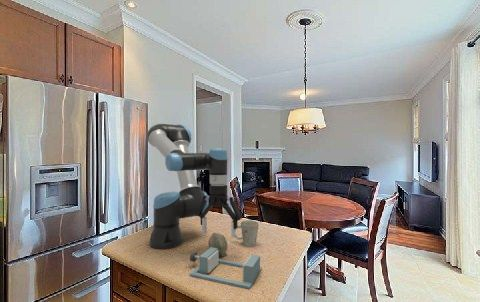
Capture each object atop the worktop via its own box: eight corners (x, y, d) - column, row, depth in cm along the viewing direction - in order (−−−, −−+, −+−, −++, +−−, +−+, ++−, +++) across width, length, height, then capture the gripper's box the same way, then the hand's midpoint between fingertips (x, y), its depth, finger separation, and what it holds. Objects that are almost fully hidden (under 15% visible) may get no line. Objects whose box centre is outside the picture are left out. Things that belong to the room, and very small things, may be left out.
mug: (257, 248, 110) (257, 226, 110) (230, 245, 113) (230, 224, 113) (259, 241, 119) (259, 220, 119) (234, 239, 121) (234, 219, 121)
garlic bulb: (221, 264, 100) (221, 244, 96) (203, 257, 103) (203, 238, 99) (231, 249, 108) (231, 230, 105) (214, 243, 111) (214, 225, 108)
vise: (189, 276, 86) (189, 259, 86) (208, 259, 99) (208, 244, 99) (249, 289, 78) (250, 270, 78) (261, 269, 91) (261, 253, 91)
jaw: (185, 269, 90) (185, 253, 90) (198, 259, 98) (198, 245, 98) (208, 274, 86) (208, 258, 86) (218, 263, 95) (219, 248, 95)
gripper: (188, 184, 105) (188, 234, 105) (243, 187, 96) (243, 241, 96) (197, 182, 112) (197, 228, 112) (249, 184, 103) (249, 235, 103)
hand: (218, 234), depth 104 cm, fingers open, 13 cm apart
